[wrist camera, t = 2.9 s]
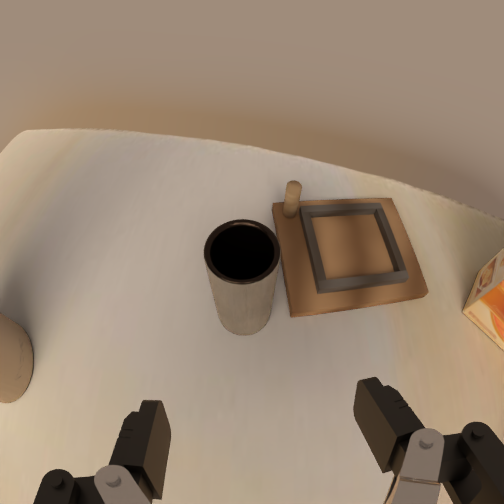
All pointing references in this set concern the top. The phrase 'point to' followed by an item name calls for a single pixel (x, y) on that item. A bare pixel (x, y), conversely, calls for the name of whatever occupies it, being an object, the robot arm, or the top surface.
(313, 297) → the socket board
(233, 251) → the grey hollow cylinder
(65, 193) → the top surface
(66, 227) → the top surface
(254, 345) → the top surface
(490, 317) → the coffeecake box
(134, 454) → the robot arm
